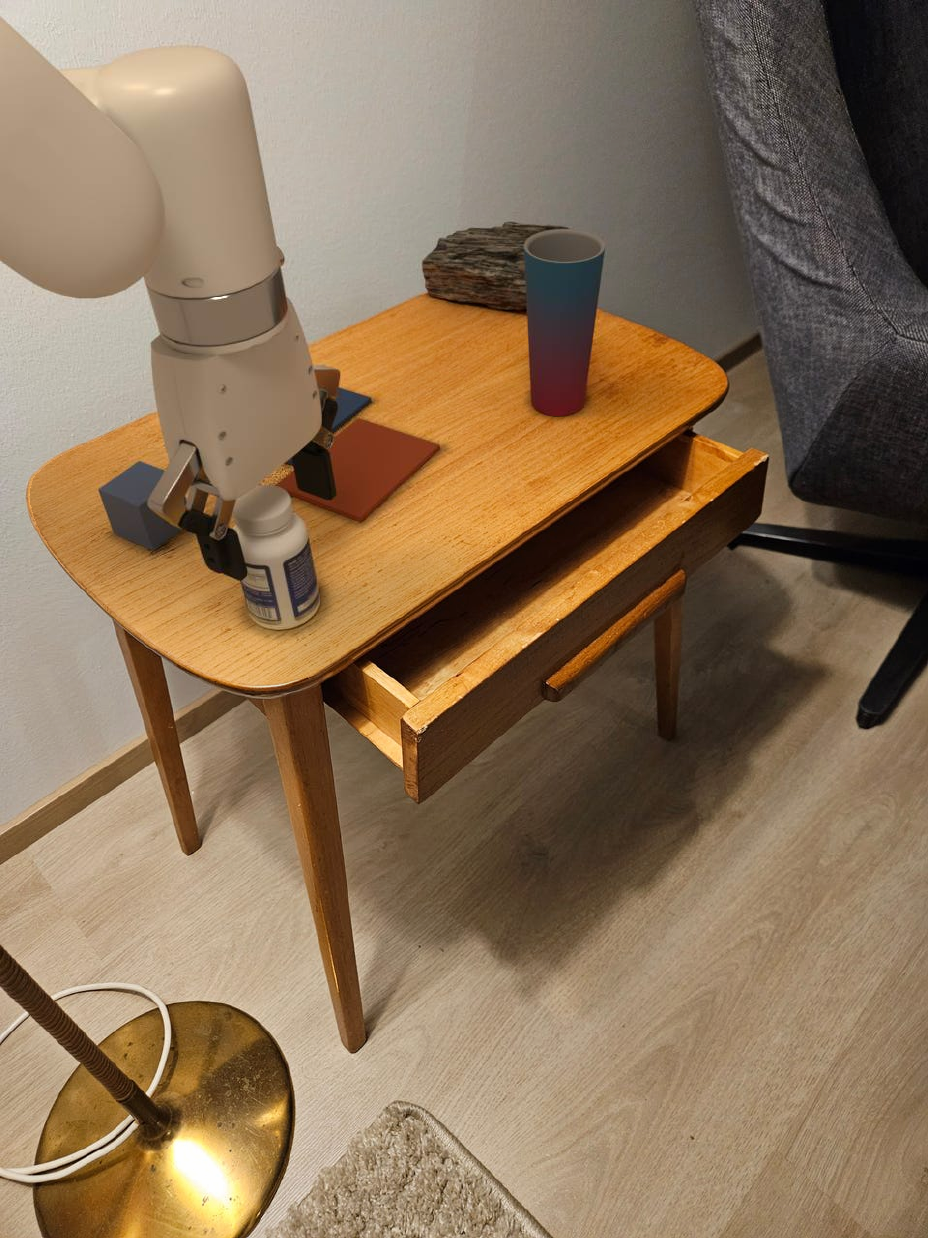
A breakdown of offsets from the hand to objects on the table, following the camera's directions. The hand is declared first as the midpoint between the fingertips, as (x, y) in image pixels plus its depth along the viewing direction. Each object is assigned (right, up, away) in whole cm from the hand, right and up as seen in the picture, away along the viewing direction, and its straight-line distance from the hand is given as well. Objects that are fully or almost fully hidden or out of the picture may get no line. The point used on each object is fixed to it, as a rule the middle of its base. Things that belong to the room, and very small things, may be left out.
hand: (274, 531), depth 67 cm
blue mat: (-3, +13, +23) cm, 26 cm away
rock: (+11, +37, +39) cm, 55 cm away
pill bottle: (0, -5, +5) cm, 7 cm away
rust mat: (+4, +7, +17) cm, 19 cm away
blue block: (-12, +1, +12) cm, 17 cm away
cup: (+22, +14, +24) cm, 36 cm away
